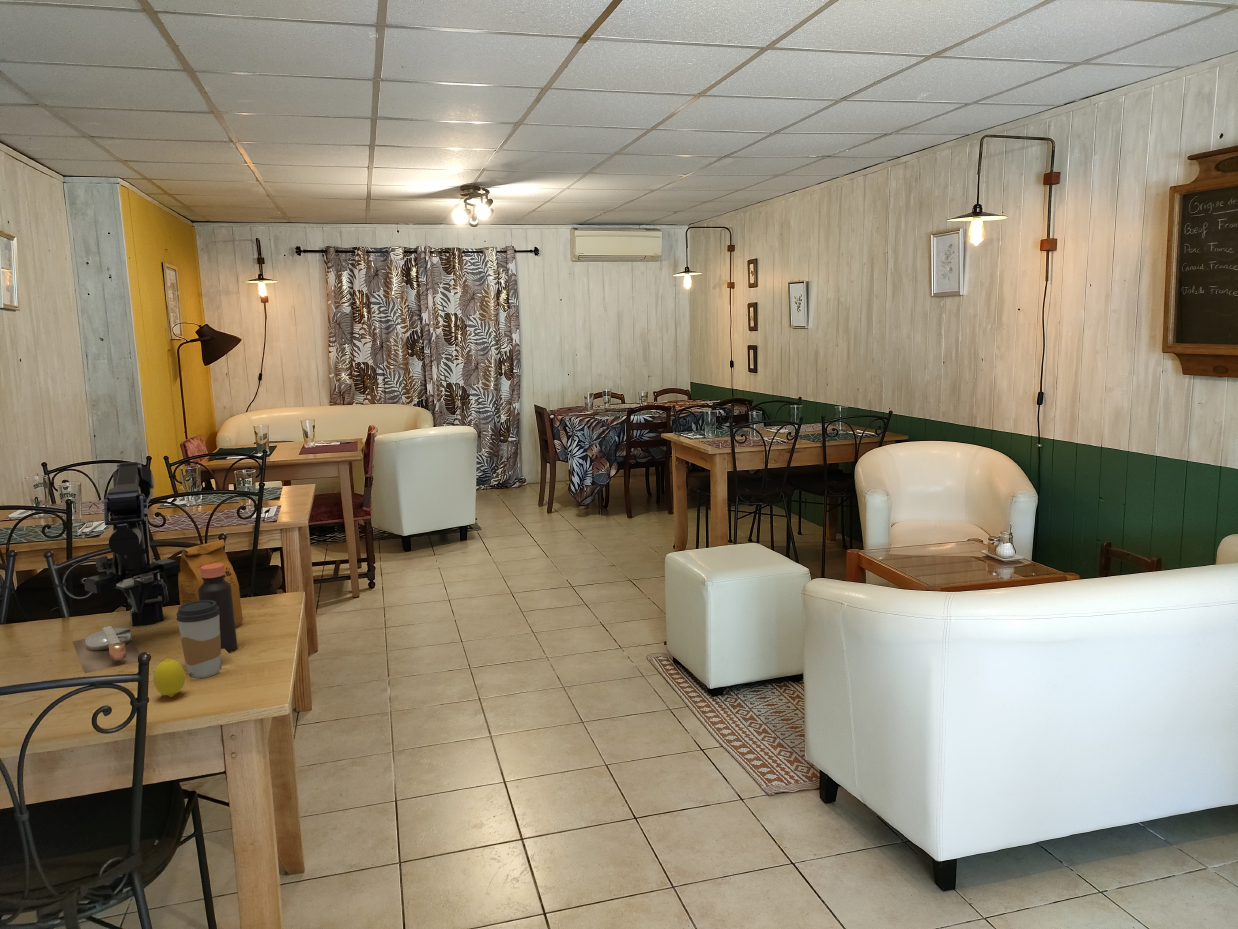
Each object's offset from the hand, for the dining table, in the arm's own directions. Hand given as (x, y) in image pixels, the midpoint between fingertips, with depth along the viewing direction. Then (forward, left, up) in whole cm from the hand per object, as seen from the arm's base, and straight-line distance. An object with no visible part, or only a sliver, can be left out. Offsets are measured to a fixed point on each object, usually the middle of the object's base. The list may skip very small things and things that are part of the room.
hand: (138, 611), depth 193 cm
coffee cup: (-8, +23, -10) cm, 26 cm away
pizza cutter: (+6, -1, -8) cm, 10 cm away
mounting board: (+7, -3, -10) cm, 12 cm away
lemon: (0, +32, -10) cm, 34 cm away
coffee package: (-16, -5, -10) cm, 20 cm away
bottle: (-14, +11, -10) cm, 21 cm away
